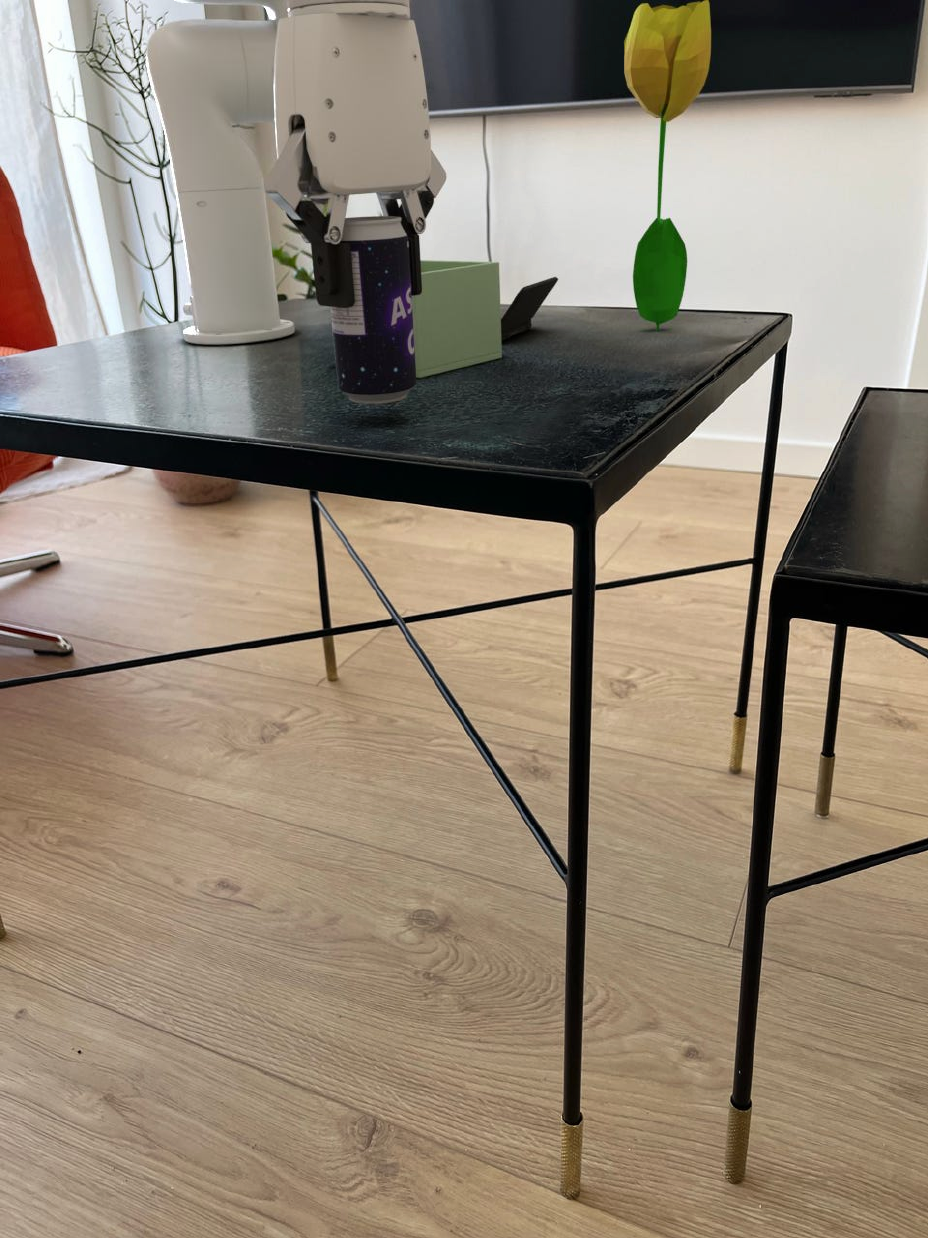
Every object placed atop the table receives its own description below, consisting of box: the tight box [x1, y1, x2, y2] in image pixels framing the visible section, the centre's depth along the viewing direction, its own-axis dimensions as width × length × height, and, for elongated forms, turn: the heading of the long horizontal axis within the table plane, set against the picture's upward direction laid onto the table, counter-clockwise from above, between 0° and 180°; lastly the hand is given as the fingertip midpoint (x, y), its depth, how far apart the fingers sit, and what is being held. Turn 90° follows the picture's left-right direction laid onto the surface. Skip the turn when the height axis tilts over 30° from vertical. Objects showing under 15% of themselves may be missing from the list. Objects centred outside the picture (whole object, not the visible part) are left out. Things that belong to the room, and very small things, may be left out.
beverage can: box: [329, 215, 418, 405], centre depth 68 cm, size 6×6×12 cm
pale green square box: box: [329, 259, 503, 379], centre depth 91 cm, size 11×11×9 cm
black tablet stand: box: [501, 276, 559, 342], centre depth 104 cm, size 12×7×10 cm
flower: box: [623, 0, 712, 331], centre depth 98 cm, size 9×8×30 cm
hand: (370, 297), depth 68 cm, fingers closed on beverage can, 5 cm apart
